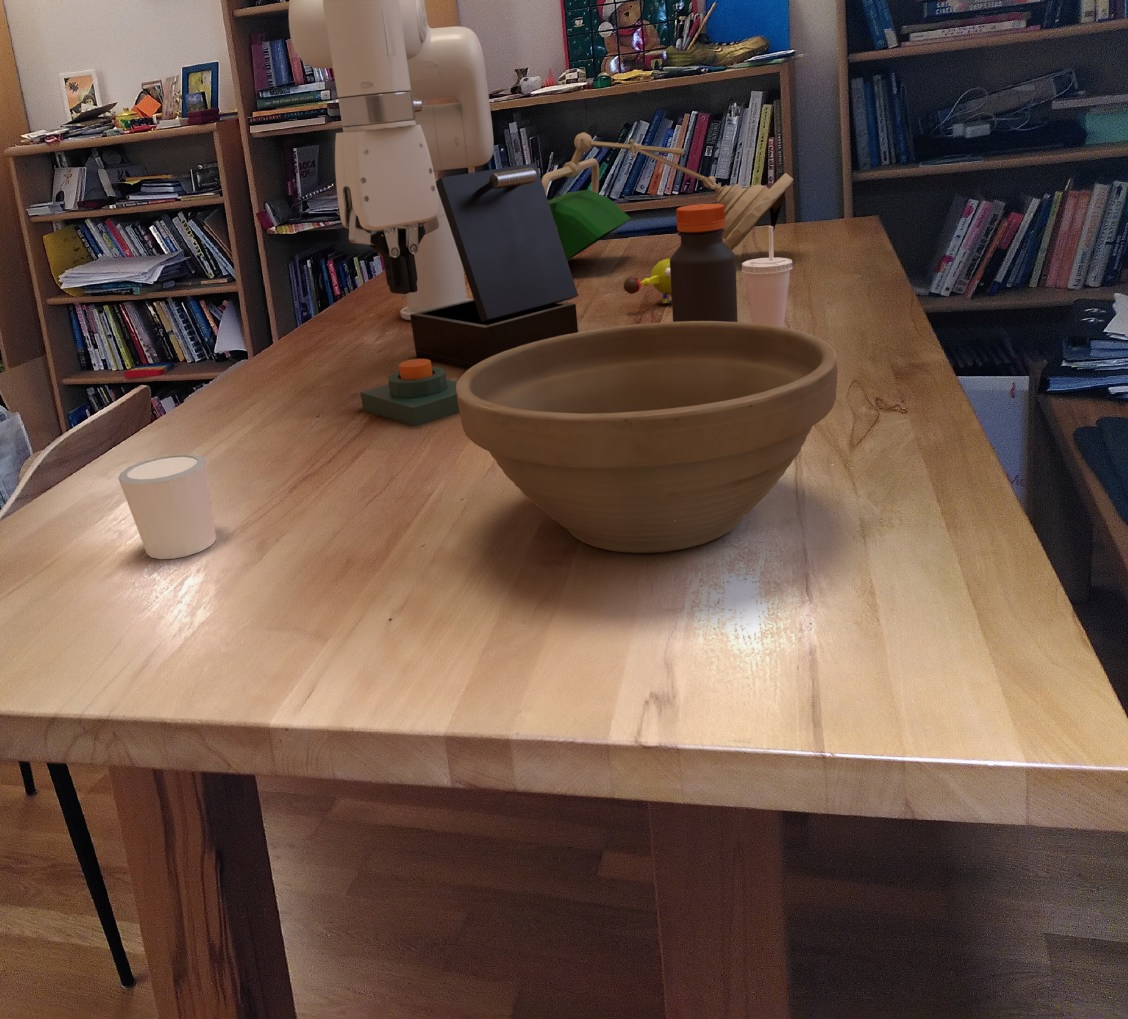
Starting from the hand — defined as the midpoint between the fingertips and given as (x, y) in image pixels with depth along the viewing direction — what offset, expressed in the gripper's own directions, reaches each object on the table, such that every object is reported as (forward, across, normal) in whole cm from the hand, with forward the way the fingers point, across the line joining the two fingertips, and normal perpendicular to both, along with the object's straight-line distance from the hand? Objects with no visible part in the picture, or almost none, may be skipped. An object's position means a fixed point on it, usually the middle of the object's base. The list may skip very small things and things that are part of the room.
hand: (403, 291), depth 114 cm
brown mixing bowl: (+14, +7, +44) cm, 46 cm away
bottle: (+14, -21, +25) cm, 35 cm away
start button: (+10, 0, 0) cm, 10 cm away
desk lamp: (+13, -80, -38) cm, 90 cm away
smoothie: (+13, -45, +14) cm, 49 cm away
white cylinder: (+14, +35, +16) cm, 41 cm away
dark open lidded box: (+13, -21, -13) cm, 28 cm away
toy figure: (+13, -55, -13) cm, 58 cm away
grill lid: (-2, -21, -8) cm, 23 cm away
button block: (+13, 0, 0) cm, 13 cm away
